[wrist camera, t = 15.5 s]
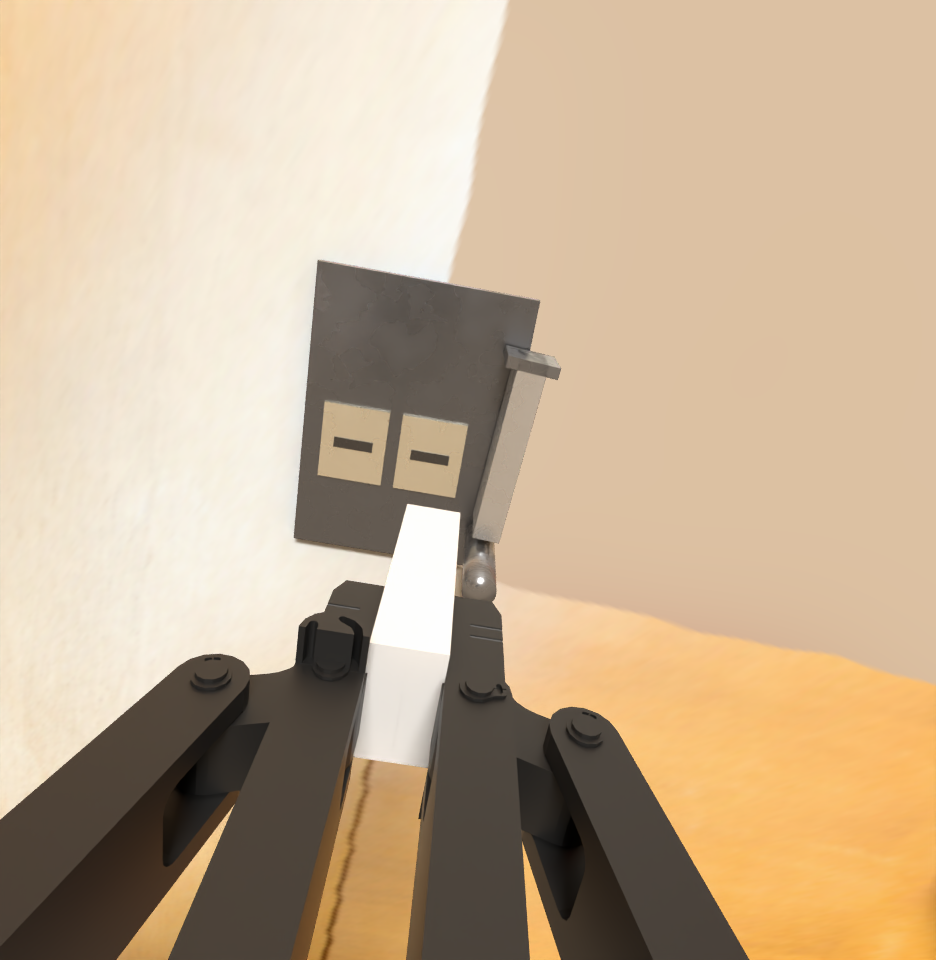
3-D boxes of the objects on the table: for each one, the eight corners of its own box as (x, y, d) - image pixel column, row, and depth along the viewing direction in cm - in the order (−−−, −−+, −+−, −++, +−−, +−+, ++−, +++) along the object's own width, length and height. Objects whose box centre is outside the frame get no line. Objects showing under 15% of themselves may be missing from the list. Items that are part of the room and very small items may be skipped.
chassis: (297, 532, 54) (258, 594, 45) (320, 259, 46) (280, 265, 37) (486, 563, 55) (488, 630, 45) (541, 300, 47) (556, 315, 38)
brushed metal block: (506, 520, 52) (509, 545, 47) (463, 510, 51) (461, 535, 47) (553, 356, 47) (561, 368, 43) (506, 345, 47) (508, 355, 43)
